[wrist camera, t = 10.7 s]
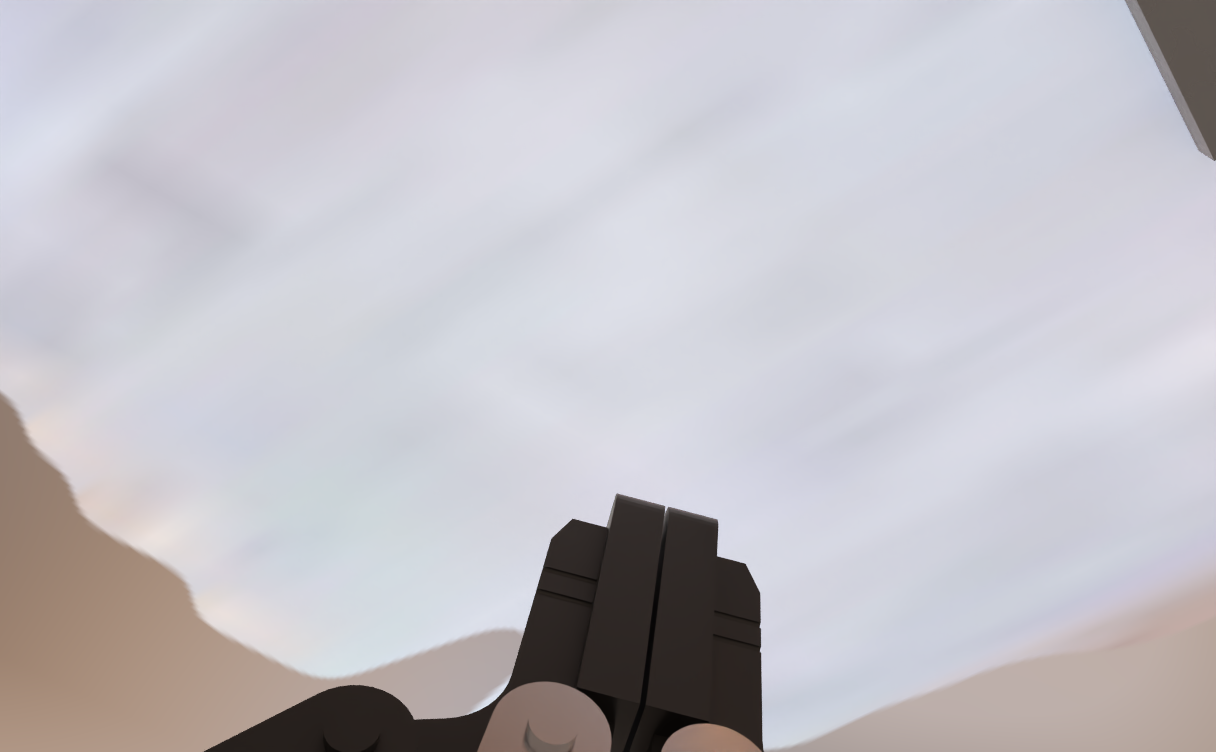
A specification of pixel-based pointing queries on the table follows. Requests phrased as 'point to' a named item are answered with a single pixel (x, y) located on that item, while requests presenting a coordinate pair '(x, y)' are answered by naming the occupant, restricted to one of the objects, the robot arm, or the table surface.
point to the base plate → (1185, 59)
